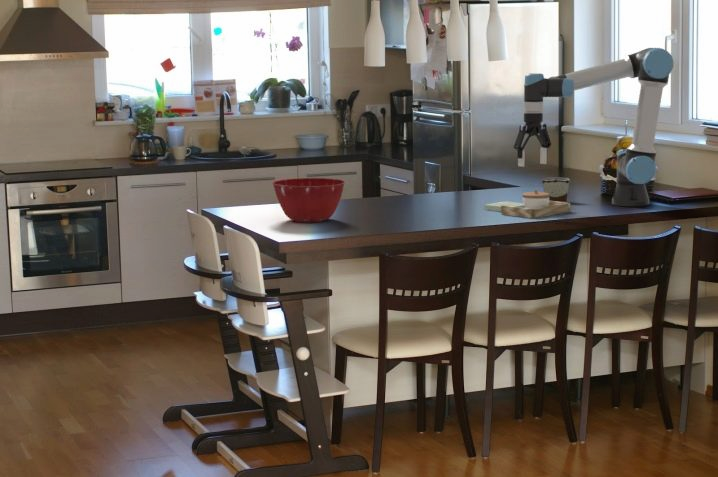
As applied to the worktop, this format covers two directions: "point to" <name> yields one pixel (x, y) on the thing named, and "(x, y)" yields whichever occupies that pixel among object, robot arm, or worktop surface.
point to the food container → (556, 188)
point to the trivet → (498, 205)
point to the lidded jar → (535, 199)
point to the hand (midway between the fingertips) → (532, 165)
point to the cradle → (537, 210)
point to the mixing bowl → (309, 198)
